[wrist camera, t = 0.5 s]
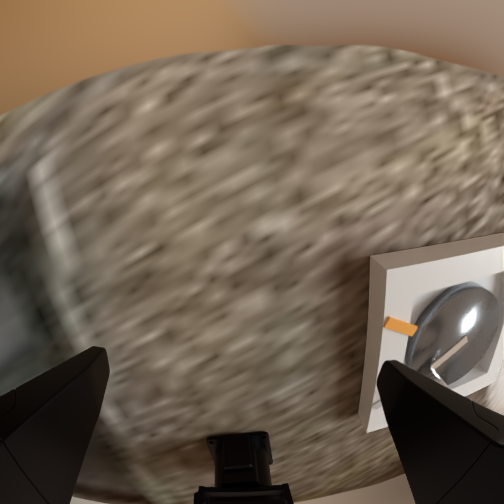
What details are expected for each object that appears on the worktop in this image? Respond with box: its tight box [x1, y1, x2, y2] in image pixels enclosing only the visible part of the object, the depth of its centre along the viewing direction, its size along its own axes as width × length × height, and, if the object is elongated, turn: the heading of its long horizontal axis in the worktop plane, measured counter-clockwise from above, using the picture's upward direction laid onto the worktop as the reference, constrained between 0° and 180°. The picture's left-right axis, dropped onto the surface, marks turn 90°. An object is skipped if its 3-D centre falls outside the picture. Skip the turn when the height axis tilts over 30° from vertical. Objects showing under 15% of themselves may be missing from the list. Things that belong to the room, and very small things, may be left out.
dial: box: [405, 282, 500, 389], centre depth 22 cm, size 11×11×6 cm
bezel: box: [358, 232, 504, 433], centre depth 25 cm, size 18×18×3 cm
